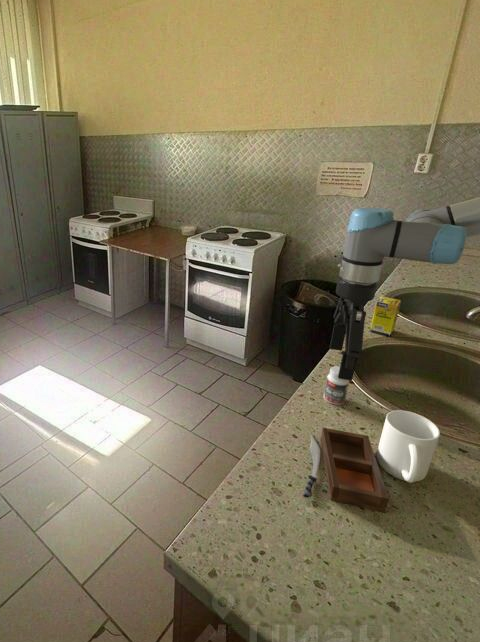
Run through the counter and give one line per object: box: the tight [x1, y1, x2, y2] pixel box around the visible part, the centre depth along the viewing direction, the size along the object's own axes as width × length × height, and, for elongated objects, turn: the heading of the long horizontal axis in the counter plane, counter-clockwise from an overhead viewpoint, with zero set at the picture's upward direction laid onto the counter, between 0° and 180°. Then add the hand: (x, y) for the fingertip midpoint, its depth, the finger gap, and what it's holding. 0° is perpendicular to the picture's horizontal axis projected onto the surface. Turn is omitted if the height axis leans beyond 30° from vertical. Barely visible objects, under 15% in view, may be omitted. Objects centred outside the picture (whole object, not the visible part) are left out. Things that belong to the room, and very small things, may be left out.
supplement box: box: [369, 295, 402, 336], centre depth 128 cm, size 6×6×11 cm
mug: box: [376, 409, 441, 484], centre depth 74 cm, size 12×8×10 cm
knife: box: [302, 432, 321, 498], centre depth 79 cm, size 19×2×1 cm, turn 152°
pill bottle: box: [322, 365, 350, 406], centre depth 96 cm, size 5×5×8 cm
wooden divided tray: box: [319, 427, 390, 514], centre depth 76 cm, size 8×16×3 cm, turn 161°
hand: (340, 363), depth 94 cm, fingers open, 13 cm apart
